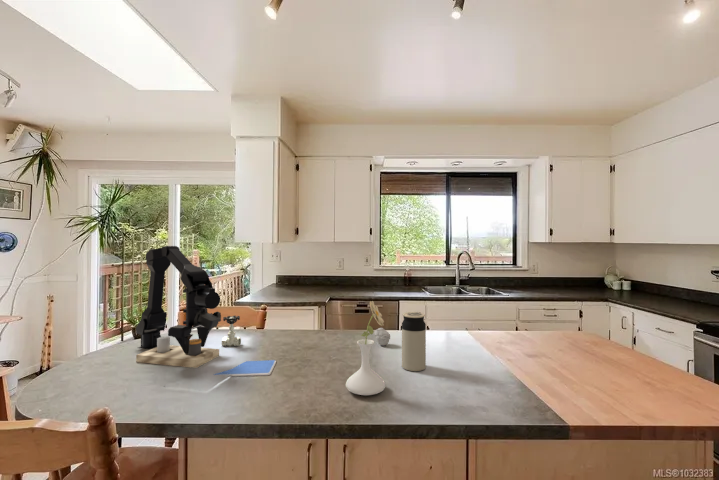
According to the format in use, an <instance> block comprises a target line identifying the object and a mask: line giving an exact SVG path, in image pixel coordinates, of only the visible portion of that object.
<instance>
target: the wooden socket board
mask: <svg viewBox="0 0 719 480" xmlns="http://www.w3.org/2000/svg"><path fill="white" fill-rule="evenodd" d="M219 356H220V348H209V347H201V354H199V355H197V356H189V355H188V354H185V353H184V351H183V349H182V348H181V346H180V345H173V344H172V345H171V344H170V351H168V352H166V353H157V347H155V348H152V349H147V350H145V351H143V352H140V353H138V354H136V358H135V361H136V363H142V364H152V365H153V364H154V365H155V364H156V365H162V366H163V365H165V366H173V367H185V368H192V369H193V368H194V369H197V368H199V367H201V366H202V365H205V364H206V363H209V362H211V361H212V360H214V359H216V358H218V357H219Z"/></svg>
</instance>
